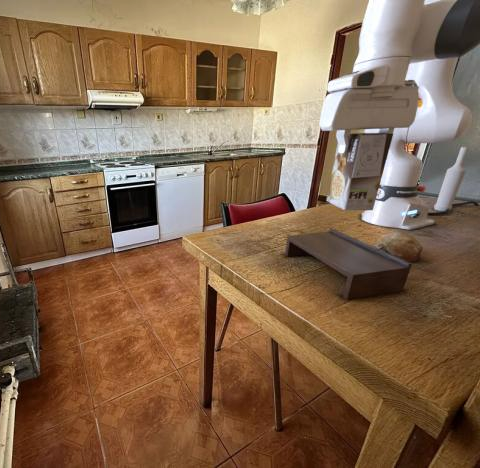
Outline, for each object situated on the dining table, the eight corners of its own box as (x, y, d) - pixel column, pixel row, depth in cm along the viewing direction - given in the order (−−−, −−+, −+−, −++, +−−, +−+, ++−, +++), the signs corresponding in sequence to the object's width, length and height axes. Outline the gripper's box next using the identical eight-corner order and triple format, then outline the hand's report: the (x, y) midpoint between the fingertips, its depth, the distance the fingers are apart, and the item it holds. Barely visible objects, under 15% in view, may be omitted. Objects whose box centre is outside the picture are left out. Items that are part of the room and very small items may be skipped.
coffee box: (374, 211, 56) (396, 132, 50) (343, 211, 57) (361, 133, 51) (351, 200, 65) (367, 132, 59) (324, 200, 65) (338, 133, 60)
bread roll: (367, 260, 77) (365, 240, 73) (389, 241, 78) (389, 220, 75) (406, 275, 68) (407, 253, 64) (431, 253, 70) (433, 231, 66)
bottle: (439, 211, 106) (463, 147, 97) (430, 208, 111) (451, 147, 101) (454, 211, 105) (479, 147, 96) (443, 208, 110) (466, 146, 101)
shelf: (327, 249, 76) (332, 228, 74) (402, 290, 56) (412, 263, 54) (284, 255, 74) (287, 233, 72) (347, 299, 54) (354, 271, 52)
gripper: (404, 82, 56) (386, 149, 61) (320, 83, 53) (309, 153, 58) (437, 76, 50) (414, 150, 55) (345, 76, 47) (330, 155, 52)
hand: (360, 151), depth 56 cm, fingers closed on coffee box, 7 cm apart
